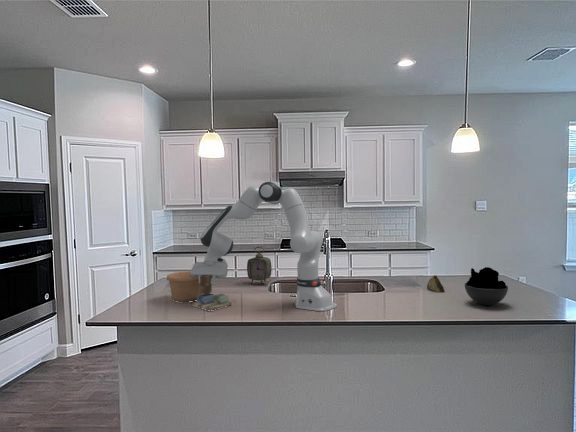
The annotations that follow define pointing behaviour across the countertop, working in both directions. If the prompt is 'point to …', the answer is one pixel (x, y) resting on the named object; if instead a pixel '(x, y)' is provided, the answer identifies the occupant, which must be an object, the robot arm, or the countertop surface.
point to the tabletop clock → (259, 267)
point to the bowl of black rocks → (486, 287)
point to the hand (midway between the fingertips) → (205, 283)
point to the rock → (435, 284)
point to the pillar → (205, 284)
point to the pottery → (184, 286)
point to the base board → (211, 306)
